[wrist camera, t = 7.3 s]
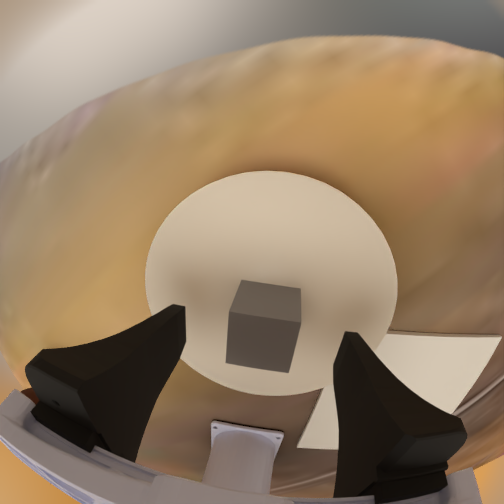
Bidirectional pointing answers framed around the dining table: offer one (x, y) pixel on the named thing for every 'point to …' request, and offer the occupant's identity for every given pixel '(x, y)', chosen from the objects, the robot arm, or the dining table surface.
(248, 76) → the dining table surface
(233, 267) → the lid
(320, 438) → the mat
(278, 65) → the dining table surface
